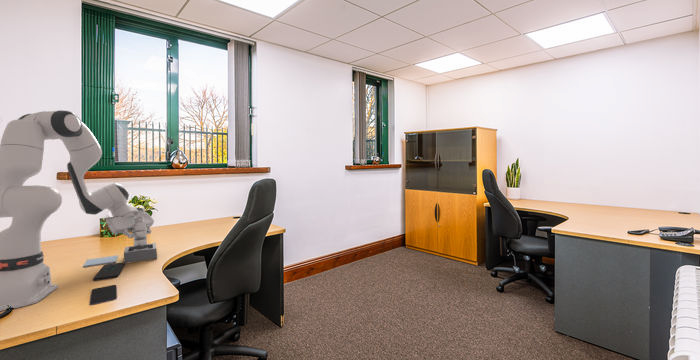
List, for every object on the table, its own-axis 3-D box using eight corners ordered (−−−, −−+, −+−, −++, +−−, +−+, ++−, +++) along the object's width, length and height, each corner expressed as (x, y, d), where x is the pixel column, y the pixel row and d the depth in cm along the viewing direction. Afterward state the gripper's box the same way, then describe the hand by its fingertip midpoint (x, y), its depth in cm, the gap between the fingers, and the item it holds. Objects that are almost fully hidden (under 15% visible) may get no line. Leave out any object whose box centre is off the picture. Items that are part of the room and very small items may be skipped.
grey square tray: (157, 258, 152) (156, 248, 152) (124, 263, 145) (123, 252, 145) (156, 252, 163) (156, 243, 163) (126, 256, 156) (125, 247, 156)
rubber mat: (115, 262, 147) (115, 261, 147) (82, 267, 140) (82, 266, 140) (118, 256, 157) (118, 255, 157) (87, 260, 150) (87, 259, 150)
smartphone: (89, 304, 101) (91, 289, 113) (89, 308, 101) (91, 292, 113) (117, 298, 105) (116, 284, 117) (117, 301, 106) (116, 287, 117)
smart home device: (126, 261, 144) (117, 274, 127) (126, 264, 144) (118, 278, 127) (103, 264, 141) (91, 278, 123) (104, 267, 141) (92, 282, 123)
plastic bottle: (141, 259, 150) (139, 219, 149) (129, 259, 151) (127, 218, 150) (152, 256, 156) (150, 216, 155) (141, 255, 158) (139, 216, 157)
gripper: (106, 213, 145) (123, 235, 142) (146, 207, 164) (162, 226, 162) (100, 222, 146) (116, 244, 144) (140, 215, 166) (155, 234, 164)
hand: (141, 235), depth 153 cm, fingers open, 8 cm apart
